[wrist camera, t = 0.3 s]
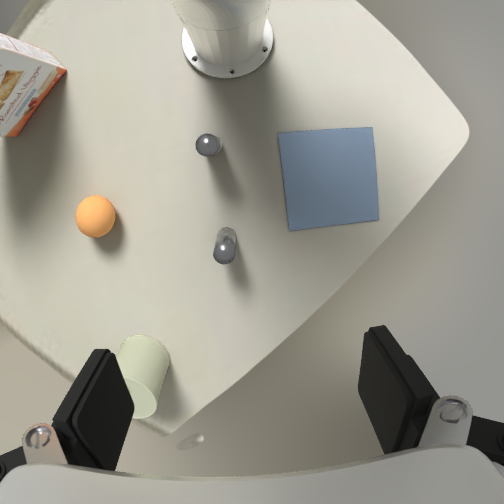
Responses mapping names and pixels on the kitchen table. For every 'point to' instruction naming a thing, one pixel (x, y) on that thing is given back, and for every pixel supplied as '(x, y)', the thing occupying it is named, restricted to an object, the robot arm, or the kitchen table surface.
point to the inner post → (208, 145)
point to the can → (143, 372)
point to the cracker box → (23, 82)
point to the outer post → (225, 246)
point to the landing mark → (329, 177)
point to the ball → (95, 216)
